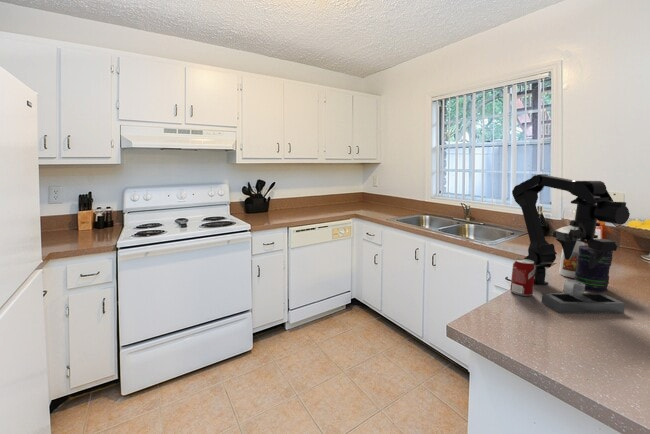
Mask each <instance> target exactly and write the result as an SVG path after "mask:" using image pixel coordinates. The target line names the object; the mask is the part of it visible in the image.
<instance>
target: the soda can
mask: <svg viewBox="0 0 650 434" xmlns="http://www.w3.org/2000/svg"><path fill="white" fill-rule="evenodd" d="M535 270H536V267H535V265H534V261H532V260H528V259H524V258H516V259H515V261H514V262H513V264H512V271H511V281H510V288H509V289H510V291H511V292H512V293H513V294H515V295H517V296H522V297H528V296H532V295H533V294H534V287H535V284H534V279H535Z"/></svg>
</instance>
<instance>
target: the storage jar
mask: <svg viewBox="0 0 650 434" xmlns="http://www.w3.org/2000/svg"><path fill="white" fill-rule="evenodd" d="M587 248H590V247H589V245H586V244H585V245H584V246H579V250H578V254H577V256H578V257H577V261H578V263H577V270H576V271H575V276H574V278H573V280H576V281H579V282H581V283H583V284H585V289H584V291H588V292H591V293H606V292H607V291H608V287H609V282H610V276H609V274H610V269H611V266H612V261H613V254H614V251H612V252H608V253H607V254H606V255H605V256H604V257H603V258H602V259H601V260H600V261H599V262H598V263H597V264H596V265H595V267H594V268H593V269H590V268H589V258H590V252H589V251H588V249H587Z"/></svg>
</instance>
